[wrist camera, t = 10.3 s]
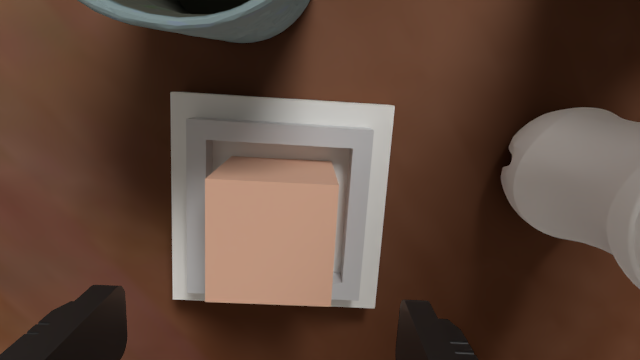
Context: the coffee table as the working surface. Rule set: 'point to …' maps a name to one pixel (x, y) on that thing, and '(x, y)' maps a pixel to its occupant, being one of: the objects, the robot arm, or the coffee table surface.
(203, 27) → the teal cup
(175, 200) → the grey stand
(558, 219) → the water bottle
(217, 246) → the terracotta block
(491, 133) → the coffee table surface
